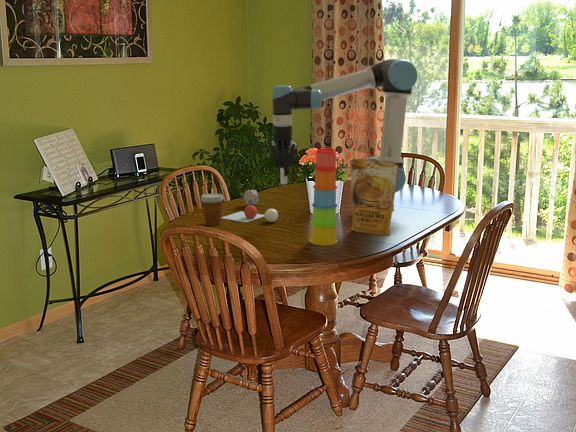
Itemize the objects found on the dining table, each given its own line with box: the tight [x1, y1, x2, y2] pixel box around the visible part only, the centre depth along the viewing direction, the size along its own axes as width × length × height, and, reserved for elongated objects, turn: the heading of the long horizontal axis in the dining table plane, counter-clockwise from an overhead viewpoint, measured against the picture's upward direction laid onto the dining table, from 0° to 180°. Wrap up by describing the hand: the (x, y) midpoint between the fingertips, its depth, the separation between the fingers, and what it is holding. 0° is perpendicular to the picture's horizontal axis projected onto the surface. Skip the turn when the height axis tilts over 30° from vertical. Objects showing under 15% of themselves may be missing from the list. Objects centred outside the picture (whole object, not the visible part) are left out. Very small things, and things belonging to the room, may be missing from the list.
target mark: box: [221, 210, 265, 223], centre depth 302 cm, size 14×14×1 cm
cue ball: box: [264, 208, 279, 223], centre depth 292 cm, size 6×6×6 cm
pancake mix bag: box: [349, 158, 398, 237], centre depth 271 cm, size 7×19×28 cm, turn 58°
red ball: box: [243, 205, 258, 218], centre depth 299 cm, size 6×6×6 cm
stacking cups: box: [309, 147, 338, 247], centre depth 258 cm, size 10×10×35 cm
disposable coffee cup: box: [200, 192, 225, 227], centre depth 290 cm, size 10×10×12 cm
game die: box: [241, 188, 262, 208], centre depth 321 cm, size 9×8×10 cm
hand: (284, 183), depth 287 cm, fingers closed
